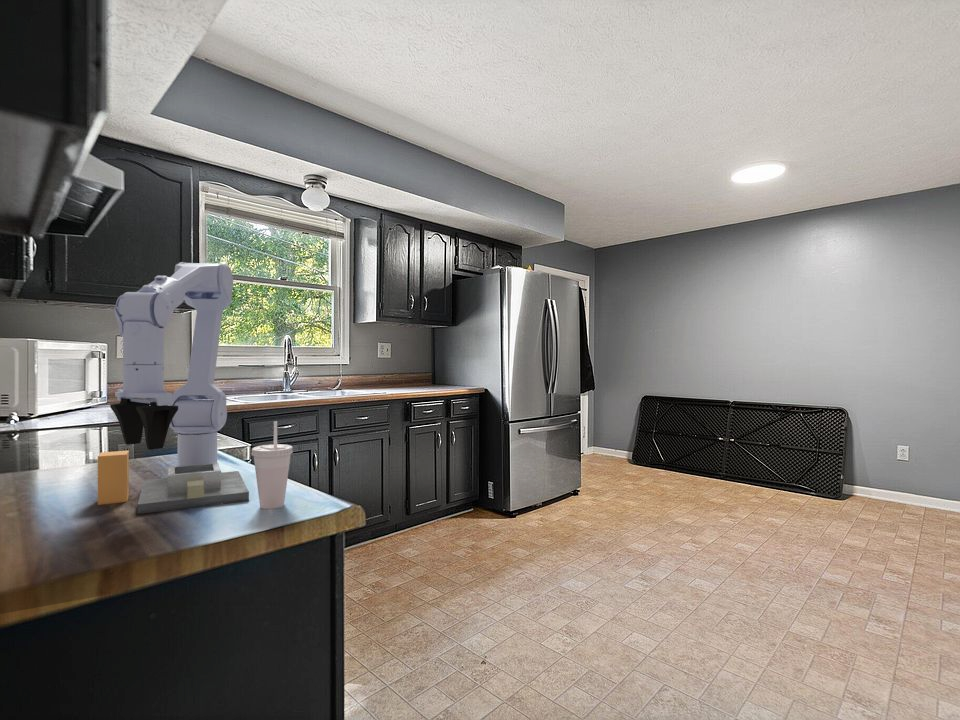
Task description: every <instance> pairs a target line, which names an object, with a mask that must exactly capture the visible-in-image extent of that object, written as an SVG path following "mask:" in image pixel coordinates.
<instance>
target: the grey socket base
mask: <svg viewBox="0 0 960 720" xmlns="http://www.w3.org/2000/svg"><path fill="white" fill-rule="evenodd" d="M167 472H168V473H167V477H161V478H159V477H158V478H150V479H143V482H142V487H141V490H140V493H139V498H138V501H137V508H136V509H137V513H136V514H137V515H140V514H141V515H142V514H150V513H151V514H152V513H157V512H165V511H173V510H182V509H190V508H191V509H192V508H199V507H207V506H215V505H216V506H218V505H223V504H233V503H239V502H240V503H241V502H248V501H250V490H249V489H248V487H247V485H246V483H245V481H244V479H243V477H242V475H241V473H240V471H239V470H236V471H235V470H234V471H224V472H223V471H222V470H221V467H220V465H219V462H217V463H207V464H195V465H183V466H178V465H175V466H168V470H167Z"/></svg>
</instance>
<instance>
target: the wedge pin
mask: <svg viewBox="0 0 960 720" xmlns="http://www.w3.org/2000/svg"><path fill="white" fill-rule="evenodd" d="M129 458H130V450H117V451H104V452H103V451H102V452H100V453H99V454H98V455H97V506H100V505H110V504H118V503H127V502H128V500H129V497H130V484H129V483H130V461H129V460H130V459H129Z"/></svg>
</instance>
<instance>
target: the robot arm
mask: <svg viewBox="0 0 960 720" xmlns="http://www.w3.org/2000/svg"><path fill="white" fill-rule="evenodd" d="M233 276H234V275H233V272H232V269H231V267H230V266H229V264H228V263H225V262H223V263H204V262H203V263H200V262H199V263H197V262H184V261H181V262H178V263H176V264H175V266H174V273H173V274H172V275H171V276H167V275H156V276H155V277H154V280H152V281H151V282H149V283H148V284H144V285H142V287H141V288H140V289H138V290H137V291H127V292H124V293H123V294H121V295H119V297H118V298H117V299H116V302H115V306H114V307H113V309H114V311H113V312H114V316H115V320H116V322H117V324H118V333H119V336H120V337H122V388H118V389H116V391H115V392H114V396H115V397H116V398H117V399H116V400H117V401H119V403H110V404H109V407H110V409H111V411H112V412H113V414H114V415H115V418H116V419H117V421H118V423H119V428H120V431H121V434H122V437H123V441H124V443H125V445H128V446H130V445H137V444H141V442H142V438H143V433H144V438H145V439H144V440H145V445H146V448H147V450H150V451H152V450H159V449H164V447H165V443H166V438H167V434H168V431H169V428H170V429H171V430H173V433H174V434H177V466H183V465H195V464H207V463H218V431H221V429H222V428H223V427H224V426H225V425H226V422H227V419H228V418H227V417H228V407H227V396H226V393H225V392H224V391H222V390H221V389H220V388H218V386H216V385H215V377H216V370H217V369H216V367H217V359H218V352H219V344H220V337H221V336H220V335H221V328H222V327H221V326H222V320H223V319H222V318H223V312H224V309H226V308H227V307H230V306H231V302H232V300H233V299H232V298H233V289H234V277H233ZM183 302H185V304H186V306H189V307H191V308H193V309H195V311H196V313H195V314H196V316H195V320H194V321H195V322H194V329H193V337H192V343H191V344H192V345H191V349H190V350H191V351H190V352H191V353H190V357H189V358H190V359H189V365H188V371H187V372H188V374H187V379H186V380H187V381H186V383H184V384H183V385H182V386H180V387H179V388H177V389H175V390H174V391H173V392H168V391H167V390H165V365H164V362H165V347H164V346H165V345H164V344H165V343H164V342H165V340H164V339H165V333H164V332H165V327H167V326H169V324H170V322H171V318H172V315H173V314H174V311H175V309H176V308H178V307H179V306H180V305H182V304H183Z"/></svg>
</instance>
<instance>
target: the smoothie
mask: <svg viewBox="0 0 960 720" xmlns="http://www.w3.org/2000/svg"><path fill="white" fill-rule="evenodd" d="M293 452H294V451H293V446H292V445H290V444H279V443H278V421H277V420H275V421H273V444H262V445H257V446H255V447H252V448H251V456H252V457H253V461H254V469H255V477H256V485H257V494H258V499H259V500H258V501H259V508H260V509H262V510H274V509H279V508H282V507H284V505H285V501H286V492H287V485H288V478H289V477H288V476H289V470H290V463H291V455H292V454H293Z"/></svg>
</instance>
